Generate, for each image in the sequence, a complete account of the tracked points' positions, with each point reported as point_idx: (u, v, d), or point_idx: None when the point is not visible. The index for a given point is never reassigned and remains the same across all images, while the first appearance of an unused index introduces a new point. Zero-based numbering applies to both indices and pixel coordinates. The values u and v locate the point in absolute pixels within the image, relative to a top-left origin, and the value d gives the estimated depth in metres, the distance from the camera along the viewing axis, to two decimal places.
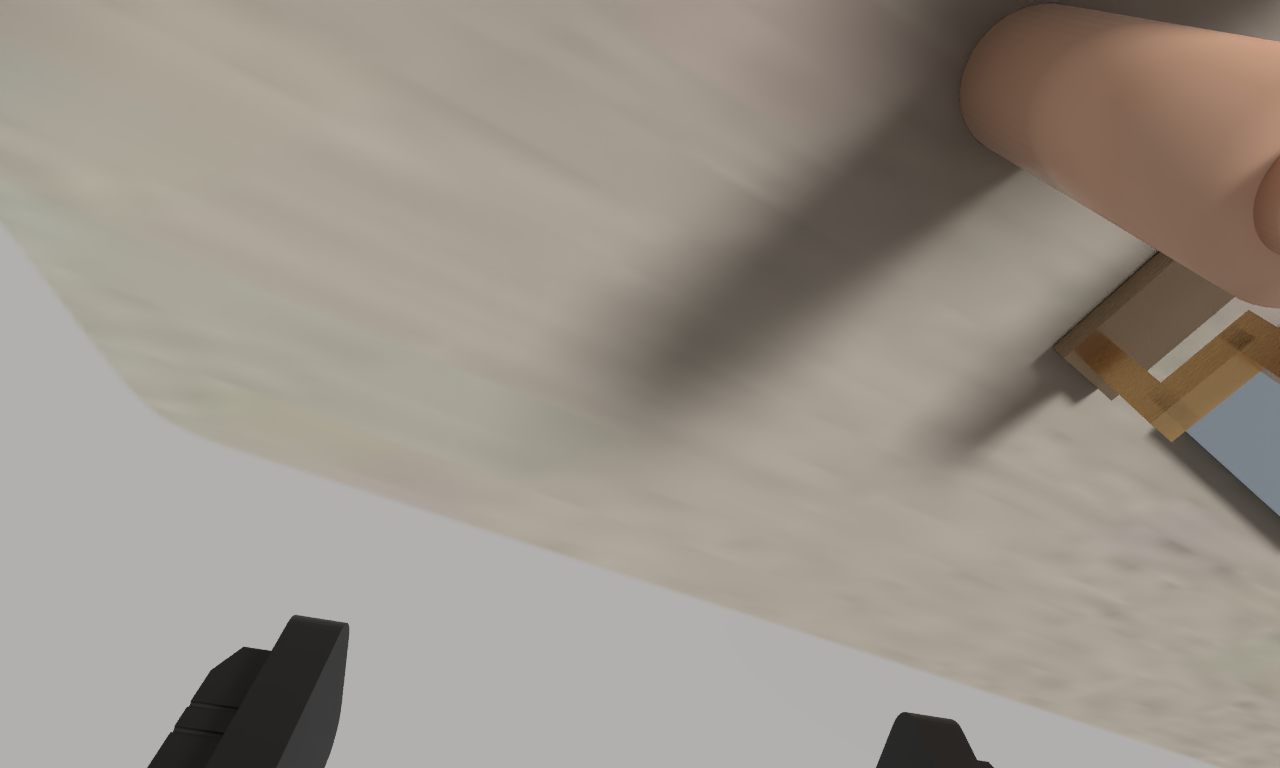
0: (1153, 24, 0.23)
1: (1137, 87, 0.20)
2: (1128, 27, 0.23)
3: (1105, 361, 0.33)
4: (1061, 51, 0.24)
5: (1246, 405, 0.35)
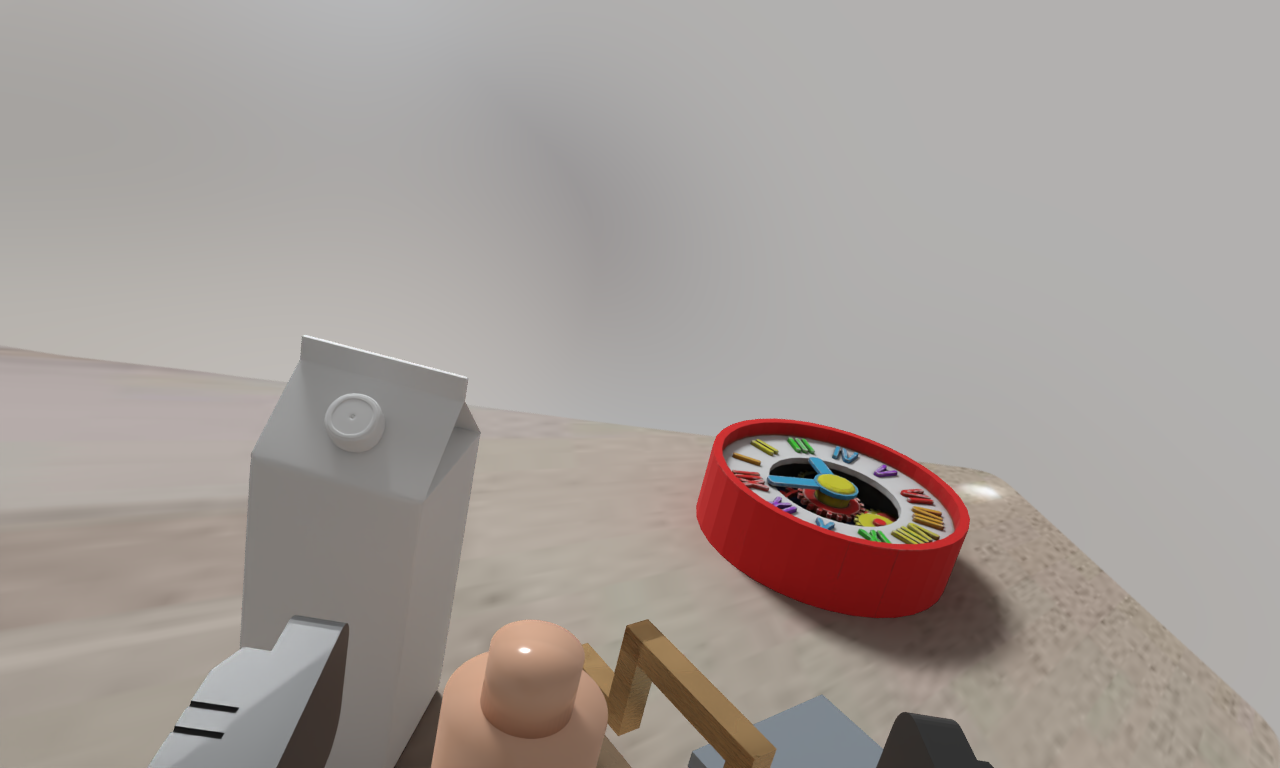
0: None
1: None
2: None
3: None
4: None
5: None
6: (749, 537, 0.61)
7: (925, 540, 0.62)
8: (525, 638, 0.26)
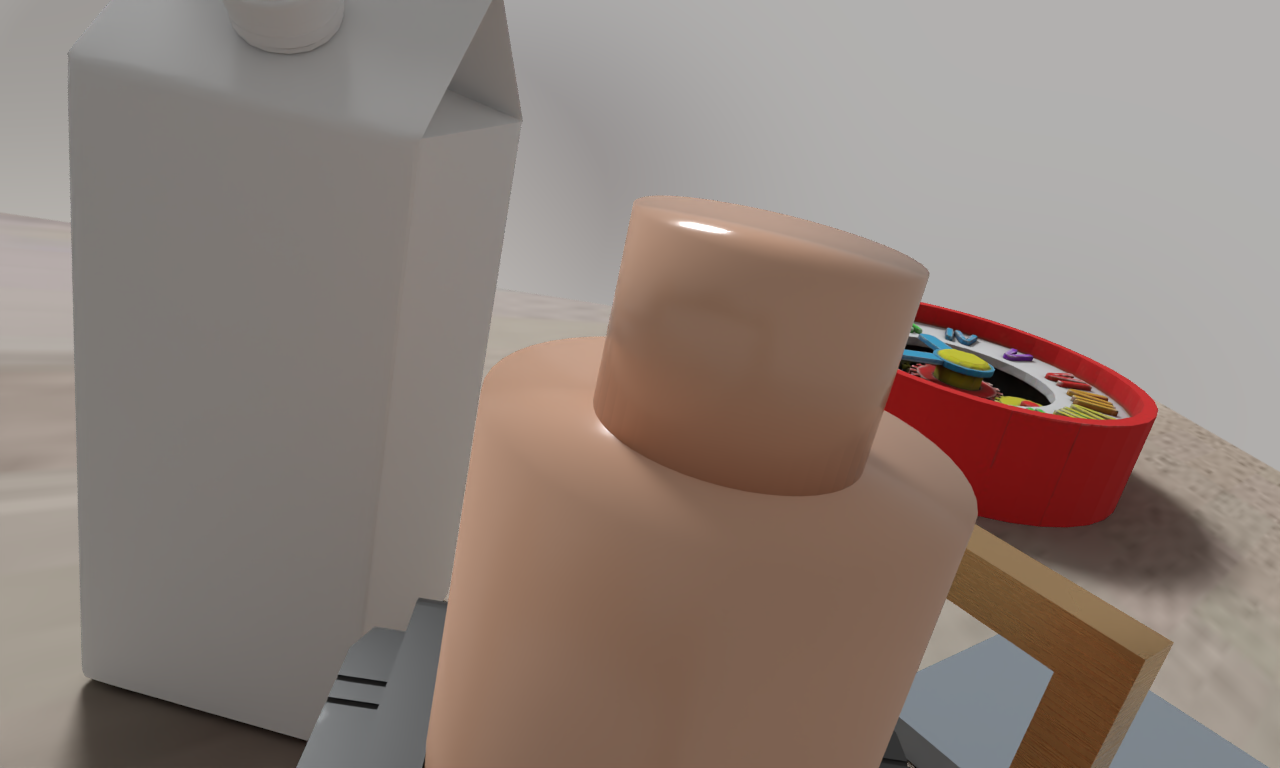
0: None
1: None
2: None
3: None
4: None
5: None
6: None
7: None
8: (730, 217, 0.09)
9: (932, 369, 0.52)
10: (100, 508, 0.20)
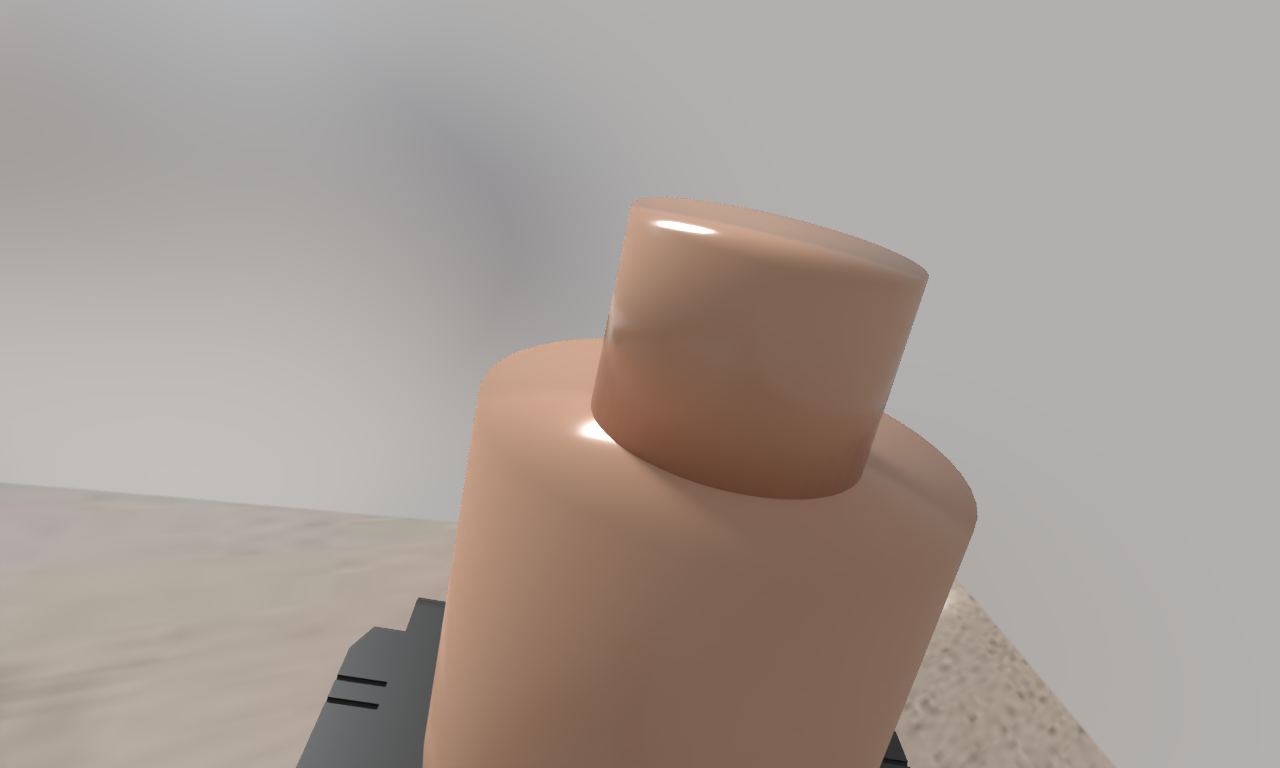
0: None
1: None
2: None
3: None
4: None
5: None
6: None
7: None
8: (729, 219, 0.08)
9: None
10: None
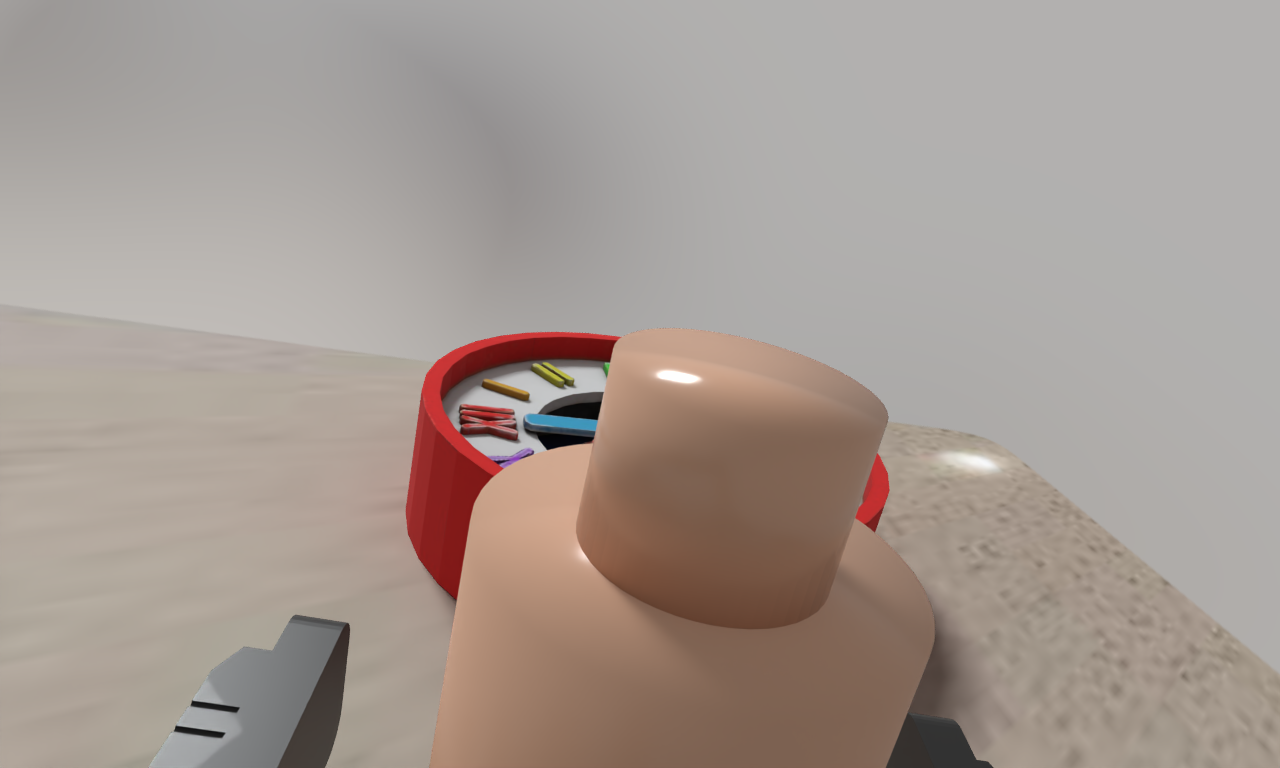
0: None
1: None
2: None
3: None
4: None
5: None
6: (451, 524, 0.32)
7: None
8: (705, 356, 0.09)
9: None
10: None
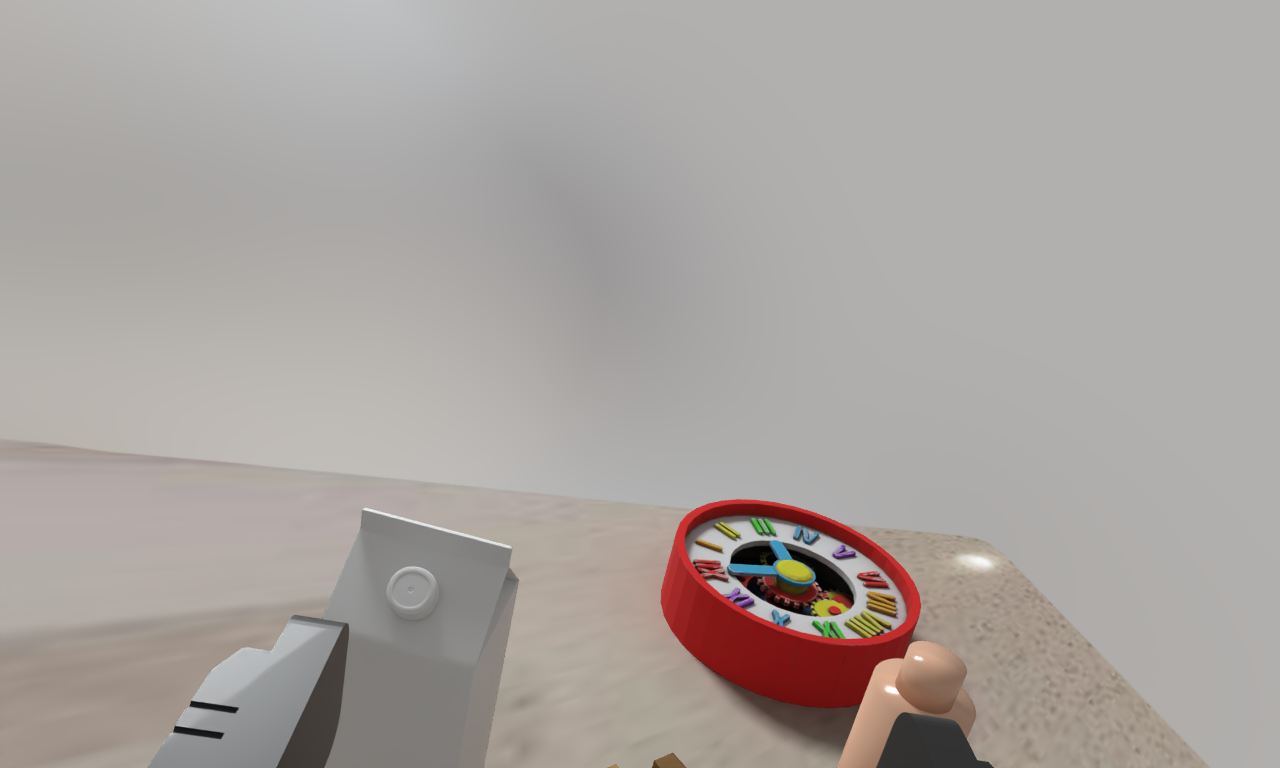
0: None
1: None
2: None
3: None
4: None
5: None
6: (707, 630, 0.64)
7: (876, 630, 0.65)
8: (926, 653, 0.42)
9: None
10: None
